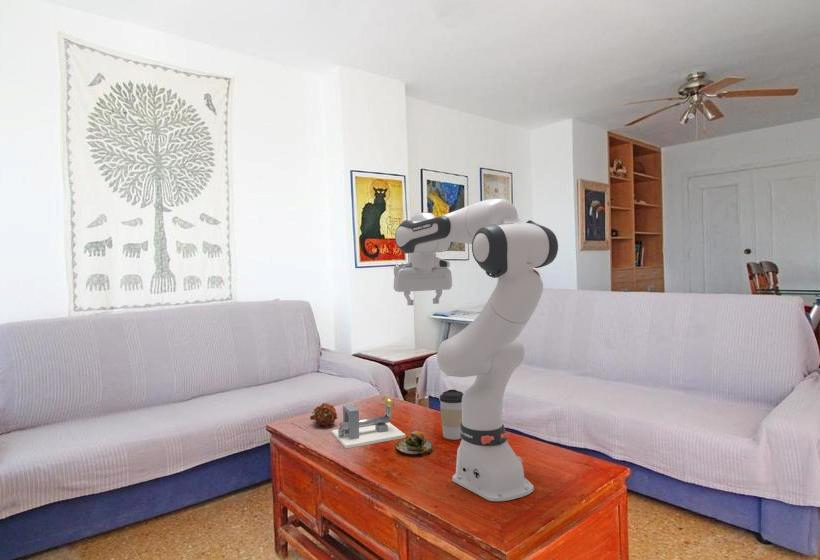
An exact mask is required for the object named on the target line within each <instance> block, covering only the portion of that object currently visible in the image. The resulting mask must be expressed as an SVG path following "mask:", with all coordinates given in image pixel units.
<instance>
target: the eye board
mask: <svg viewBox="0 0 820 560" xmlns="http://www.w3.org/2000/svg"><path fill="white" fill-rule="evenodd" d="M342 416H343V417H342V418H343V419H342V421H343V422H348V421H349V430H344V436H338V429H339V428H337V429H332V430H331V435H333V437H334V438H335V439H336V440H337V442H339V443H340V444H341V445H342V446H343V447H344V448H345V449H346V450H347V449H351V448H357V447H363V446H368V445H372V444H378V443H385V442H389V441H396V440H400V439H405V438H406V436H407V434H406V433H404V432H403V431H401V430H400V429H399V428H397V427H396V426H395V425H393V424H392V423H391V422H389V423H385V424H379V425H373V426H367V427H361V428H359V420H360V419H359V418H360V417H359V409H358V408H356V406H354V405H353V404H352V403H350V404H344V405H342Z"/></svg>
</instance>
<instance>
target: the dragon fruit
mask: <svg viewBox="0 0 820 560" xmlns="http://www.w3.org/2000/svg"><path fill="white" fill-rule="evenodd" d="M313 410H314V411H313V412H311V414H312V415H310V416H309V419H310V420H311V421H315V425H317V426H323V427H330V426H331V425H332V424H334V422H335V421H336V420H337V419H338V413H337V411H336V408H335V406H333V405H332V404H331V405H330V404H329V403H325V402H323V403H322V404H321V405H320V406H316V407H315V408H314V409H313Z"/></svg>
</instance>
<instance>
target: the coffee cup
mask: <svg viewBox="0 0 820 560" xmlns="http://www.w3.org/2000/svg"><path fill="white" fill-rule="evenodd" d="M463 394H464V392H462V391H459V390H456V389H448V390H446V391H443V392H442V393H441V394H440V396H439V399H438V400H439V403H440V408H439V409H440V417H441V418H440V419H441V425H442V436H443V438H445V439H447V440H460V439H461V440H462V438H461V436H460V427H461V422H462V396H463Z"/></svg>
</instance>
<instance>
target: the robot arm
mask: <svg viewBox="0 0 820 560" xmlns="http://www.w3.org/2000/svg"><path fill="white" fill-rule="evenodd" d="M518 214H519V213H518V210H517V208H516V207H515V205H514V204H513V203H512V202H511V201H510V200H508V199H505V198H489V199H484V200H481V201H478V202H474V203H472V204H469V205H468V206H464V207H462V208H459V209H457V210H453V211H451V212H449V213H445V214H443V215H439V216H437V217H435V215H434V213H431V212H428V211H427V212H425V211H422V212H417V213H414V214H413V215H412V216H411V217H410V220H408V219H407V220H406V219H405V220H403V221H402V222H401V223H400V224H399V225H398V226H397V228H396V230H395V233H394V241H395V243H396V246H397V247H398V248H399V250H400V251H401V252H403V253H404V254H409V256H408V257H409V262H404V263H401V262H399V263H397V264H396V265H395V266H394V268H393V275H394V277H393V290H394V291H395V292H398V293H403V295H404V297H405V299H406V301H407V302H406V303H407V306H414V304H415V303H414V301H415V300H414V299H412V298H411V297H410V296H411V292H424V291H425V292H426V291H427V292H428V291H435V294H436V295H435V297H434V298H432V304H435V305H436V304H437V305H438V304H440V298H441V296H442V294H443V291H447V290H451V289H452V287H453V277H452V271H451V269H450V267H451V263H450V261H449V260H445V259H443V258H440V257H438V256H437V253H443V252H447V251H449V250H450V249H451V248H452V246H453V243H459V244H466V245H468V244H469V245H471V252H472V253H471V254H472V256H473V258H474V260H475V262H476V263H477V264H478V266H479V268H480V269H481V270H484V271H485V274H486V275H487V276H488V277H490V278H492V279H496V278H497V284H496V286H495V288H494V290H493V291H492V293H491V294H490V296H489V298H488V300H487V302H486V303H485V305H484V306H483V308H482V309H481V311H480V313H479V314H478V316H477V317H476V318H475V319H473V320H472V322H470V323H469V324H468V325H467V326H466V327H464V328H463V329H461V331H459V332H458V333H456V334H455V335H453V336H451V337H449V338H447V339H445V340H443V341H441V343H440V345H439V347H438V349H437V353H436V358H437V359H436V360H437V365H438V366H439V368H440V370H441V372H442V373H443V374H445V375H446V376H447V377H448V376H449V377H456V378H468V377H476V378H475V379H474V382H473V383H472V385H470V386H469V387H468V388H467V389H465V391H464V392H463V396H462V422H461V427H460V436H461V440H460V443H459V446H458V447H457V450H456V452H457V453H456V464H455V473H453V475H452V480H451V481H452V482H454V483H455V484H457V485H459V486H460V487H462V488H465V490H468V491H470V492H473V493H474V494H476V495H478V496H480V497H481V498H483V499H485V500H487V501H489V502H506V501H511V500H515V499H518V498H523V497H525V496H528V495H530V494H531V493H533V492H534V491H535V488H534V485H533V483H531V482H530V481H529V480H528V479H527V478H526V477H525V472H524V466H523V460H522V458H521V456H517V455H516V453H515V451H514V450H513V448H512V447H511V446H510V444H509V442H508V441H507V440H508V437H509V432H506V428H505V425H504V423H503V409H504V408H503V406H504V395H505V392H506V388H507V386H508V382H509V380H510V379H511V377H512V375H513V373H514V372H515V371H516V370H517V368H519V367H520V366H521V364H522V363H523V361H524V357H525V348H524V344H523V342H522V340H521V339H520V338H519V335H520V334H521V332H523V331H522V330H523V329H524V328H525V326H526V325H527V323H528V322H529V321H530V319H531V317H532V316H533V314H534V312H535V311H536V309H537V306H538V304H539V302H540V299H541V298H542V294H543V292H544V291H543V290H544V283H543V280H542V278H541V277H540V276H539V275H538V273H536V272H535V271H534V269H540V268H543V267H546V266H548V265H550V264H552V263H553V262H554V261H555V259H556V258H557V255H558V251H559V243H558V239H557V236H556V234H555V233H554V231H553V230H551V229H550V228H548V227H546V226H543V225H541V224H539V223H536V222H535V221H533V220H531V219H530V220H528V221H526V222H525V221H521V220H520V219H519V215H518Z"/></svg>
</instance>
